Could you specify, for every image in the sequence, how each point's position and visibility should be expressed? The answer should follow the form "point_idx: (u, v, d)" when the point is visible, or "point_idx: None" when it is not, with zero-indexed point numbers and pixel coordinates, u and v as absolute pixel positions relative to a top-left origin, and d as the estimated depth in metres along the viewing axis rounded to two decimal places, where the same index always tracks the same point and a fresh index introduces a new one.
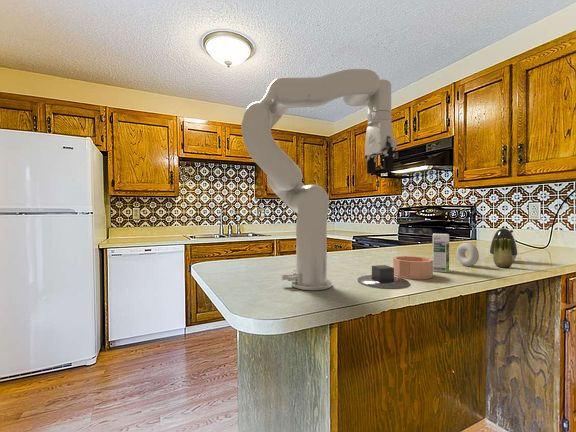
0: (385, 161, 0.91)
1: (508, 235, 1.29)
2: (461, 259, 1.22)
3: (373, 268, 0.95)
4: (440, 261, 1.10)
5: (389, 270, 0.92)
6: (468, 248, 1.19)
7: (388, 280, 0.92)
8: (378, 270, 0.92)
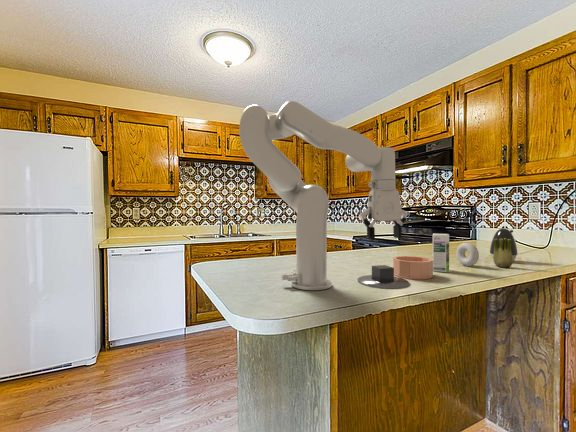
0: None
1: (508, 235, 1.29)
2: (461, 259, 1.22)
3: (373, 268, 0.95)
4: (440, 261, 1.10)
5: (389, 270, 0.92)
6: (468, 248, 1.19)
7: (388, 280, 0.92)
8: (378, 270, 0.92)
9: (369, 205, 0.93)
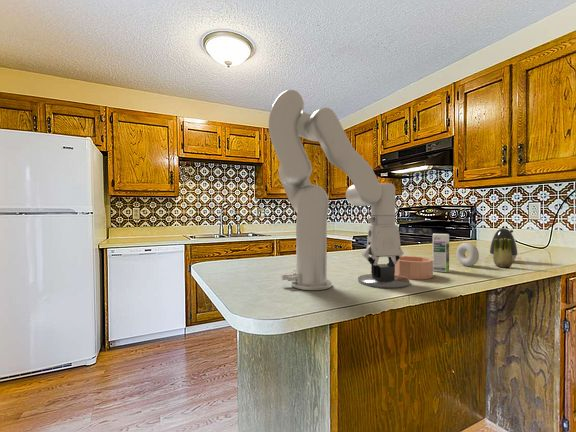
0: None
1: (508, 235, 1.29)
2: (461, 259, 1.22)
3: None
4: (440, 261, 1.10)
5: (389, 269, 0.92)
6: (468, 248, 1.19)
7: (388, 279, 0.92)
8: (379, 269, 0.92)
9: (368, 240, 0.94)
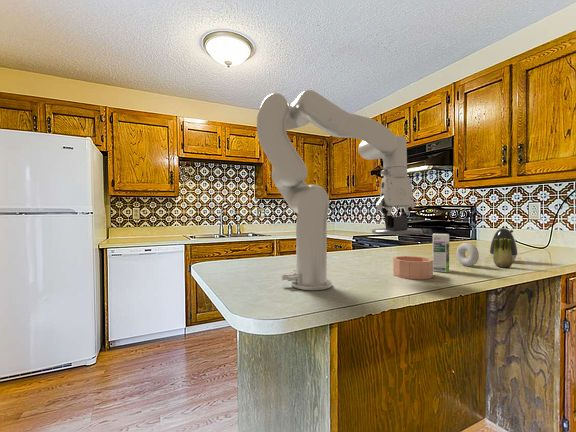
0: None
1: (508, 235, 1.29)
2: (461, 259, 1.22)
3: None
4: (440, 261, 1.10)
5: (402, 218, 0.96)
6: (468, 248, 1.19)
7: (401, 228, 0.96)
8: (392, 219, 0.96)
9: (381, 192, 0.97)
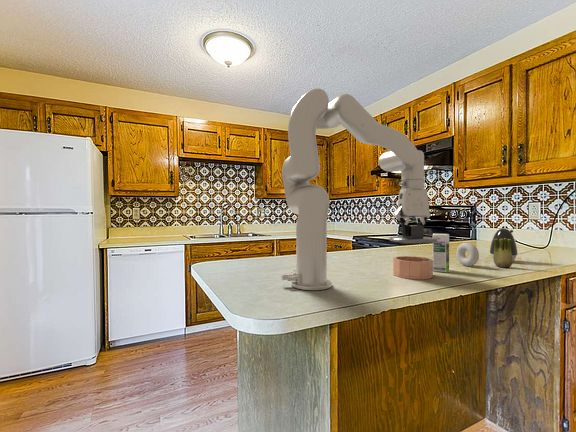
0: None
1: (508, 235, 1.29)
2: (461, 259, 1.22)
3: None
4: (440, 261, 1.10)
5: (419, 227, 1.02)
6: (468, 248, 1.19)
7: (418, 237, 1.02)
8: (409, 228, 1.02)
9: (400, 202, 1.03)
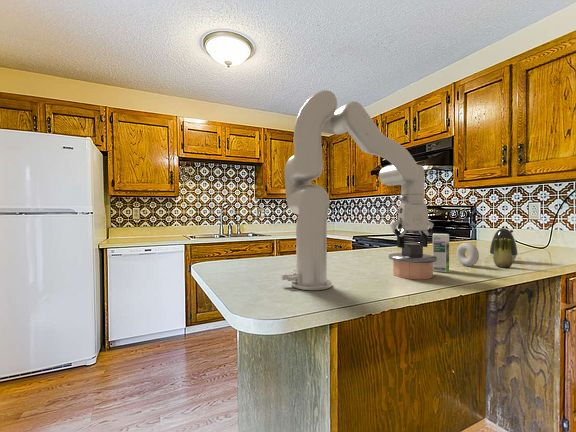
0: None
1: (508, 235, 1.29)
2: (461, 259, 1.22)
3: None
4: (440, 261, 1.10)
5: (418, 246, 1.02)
6: (468, 248, 1.19)
7: (417, 255, 1.02)
8: (409, 246, 1.02)
9: (399, 216, 1.03)
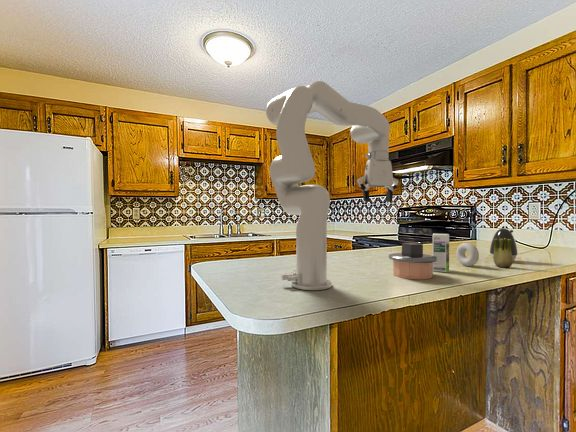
0: None
1: (508, 235, 1.29)
2: (461, 259, 1.22)
3: (403, 245, 1.05)
4: (440, 261, 1.10)
5: (418, 246, 1.02)
6: (468, 248, 1.19)
7: (417, 255, 1.02)
8: (409, 246, 1.02)
9: (365, 173, 1.11)
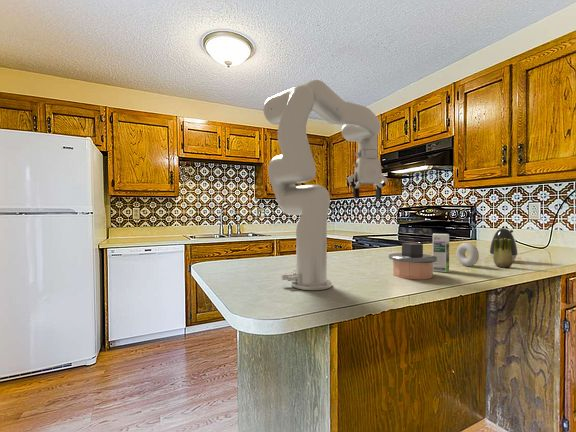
0: None
1: (508, 235, 1.29)
2: (461, 259, 1.22)
3: (403, 245, 1.05)
4: (440, 261, 1.10)
5: (418, 246, 1.02)
6: (468, 248, 1.19)
7: (417, 255, 1.02)
8: (409, 246, 1.02)
9: (355, 171, 1.14)
